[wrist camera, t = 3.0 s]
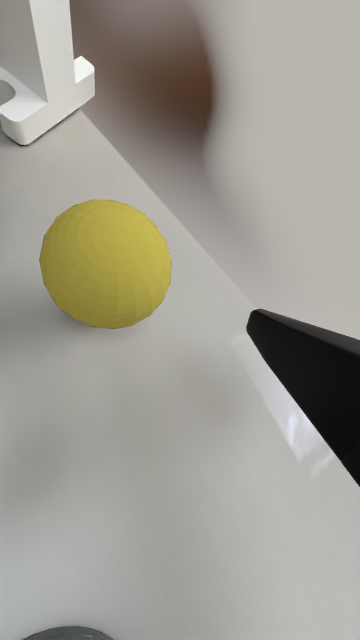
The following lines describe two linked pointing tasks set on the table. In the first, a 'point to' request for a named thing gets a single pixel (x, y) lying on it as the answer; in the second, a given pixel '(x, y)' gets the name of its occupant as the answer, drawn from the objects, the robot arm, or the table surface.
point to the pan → (70, 634)
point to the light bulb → (105, 264)
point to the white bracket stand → (39, 68)
